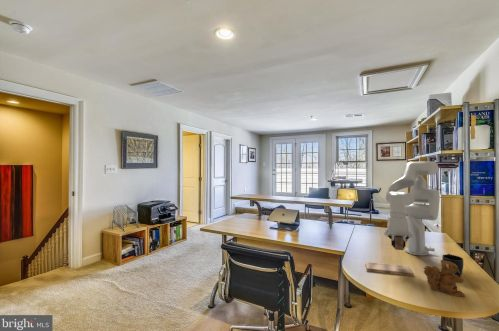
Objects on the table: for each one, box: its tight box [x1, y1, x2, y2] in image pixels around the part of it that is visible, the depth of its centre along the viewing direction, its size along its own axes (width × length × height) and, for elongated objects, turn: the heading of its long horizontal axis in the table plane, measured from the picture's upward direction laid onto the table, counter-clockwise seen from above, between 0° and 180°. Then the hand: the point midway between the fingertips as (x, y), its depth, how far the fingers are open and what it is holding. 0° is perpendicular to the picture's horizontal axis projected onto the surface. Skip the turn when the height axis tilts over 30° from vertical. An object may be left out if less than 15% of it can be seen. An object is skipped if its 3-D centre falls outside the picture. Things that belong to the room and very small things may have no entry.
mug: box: [441, 253, 464, 277], centre depth 125 cm, size 8×12×10 cm
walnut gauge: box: [394, 235, 405, 251], centre depth 134 cm, size 4×10×7 cm, turn 160°
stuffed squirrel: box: [423, 259, 466, 298], centre depth 111 cm, size 10×14×13 cm
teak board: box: [364, 261, 415, 277], centre depth 133 cm, size 22×9×2 cm, turn 70°
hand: (398, 247), depth 137 cm, fingers closed on walnut gauge, 4 cm apart
